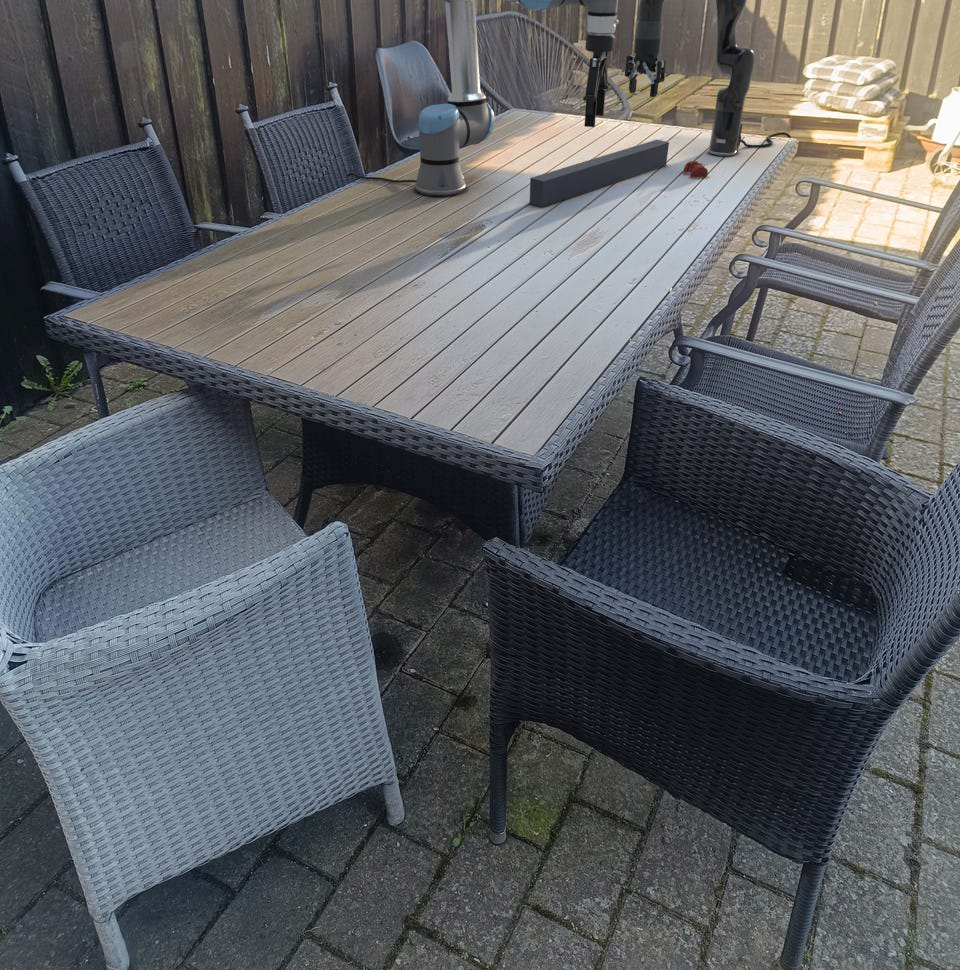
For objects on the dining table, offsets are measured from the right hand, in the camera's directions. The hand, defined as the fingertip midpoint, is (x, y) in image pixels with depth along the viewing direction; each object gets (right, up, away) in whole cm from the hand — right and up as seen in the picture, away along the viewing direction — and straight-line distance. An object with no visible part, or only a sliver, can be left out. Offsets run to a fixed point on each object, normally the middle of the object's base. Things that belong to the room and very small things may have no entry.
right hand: (642, 94), depth 262 cm
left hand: (-19, -22, -31) cm, 43 cm away
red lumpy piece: (+19, -22, +10) cm, 30 cm away
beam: (-12, -27, +2) cm, 30 cm away
